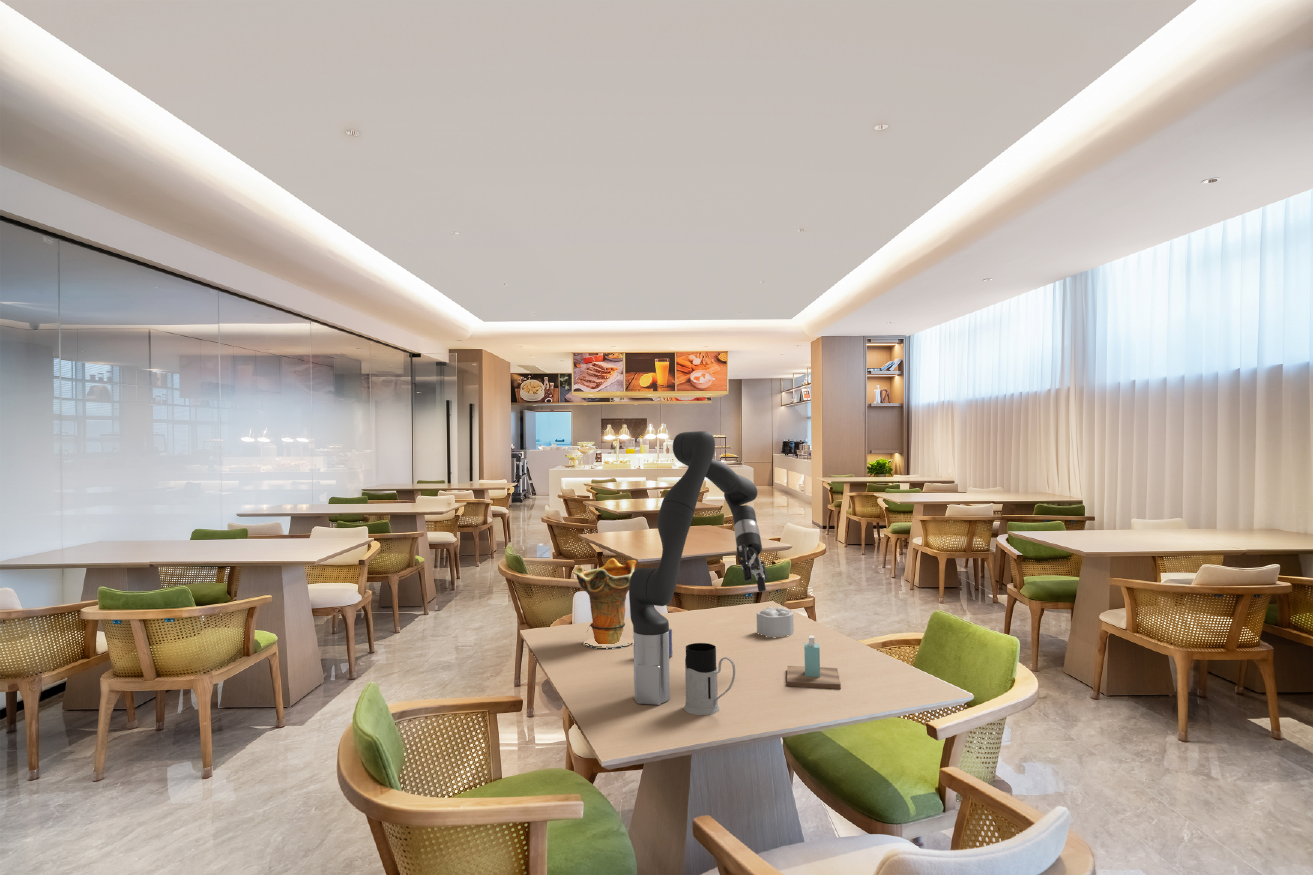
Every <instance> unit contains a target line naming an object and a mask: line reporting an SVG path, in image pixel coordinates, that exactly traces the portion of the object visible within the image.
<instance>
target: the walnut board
mask: <svg viewBox="0 0 1313 875" xmlns="http://www.w3.org/2000/svg"><path fill="white" fill-rule="evenodd" d="M786 671H787V672H786V673H787V674H786V686H787V687H797V688H799V687H801V688H816V689H817V688H818V689H819V688H820V689H832V690H833V689H834V690H835V689H837V690H838V689H839V690H841V687H842V686H841V679H840V676H839V675H840V674H839V670H838V668H837V667H826V666H825V667H824V666H820V677H805V665H804V666H803V665H800V666H799V665H787V670H786Z"/></svg>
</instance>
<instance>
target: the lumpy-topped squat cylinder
mask: <svg viewBox="0 0 1313 875" xmlns="http://www.w3.org/2000/svg"><path fill="white" fill-rule="evenodd" d="M794 618H795V617H794V612H793V611H792V610H790V609H788V608H784V607H782V606H779V607H776V608H774V607H772V606H768V607H766V608H765V609H762V610H760V611H757V612H756V634H757V633H759V634H762V635H765V636H767V637H781V636H787V635H791V636H793V635H794V634H795V633H794V632H795V628H794V627H795V624H794ZM793 633H794V634H793ZM759 634H758V635H759ZM792 634H793V635H792ZM762 635H761V636H762ZM767 637H766V638H767ZM787 637H788V636H787ZM781 638H782V637H781Z"/></svg>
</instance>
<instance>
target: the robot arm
mask: <svg viewBox="0 0 1313 875" xmlns="http://www.w3.org/2000/svg"><path fill="white" fill-rule="evenodd" d="M714 437H715V436H714V435H713V434H712V433H711V432H709V431H706V430H705V431H704V430H703V431H702V430H701V431H699V430H698V431H684V432H679V433H678V434H677V435H675V437H674V439H673V442H672V451H673V456H674V457H675V458H676V460H677V461H678V462H680V463H682V464H683V465H684V466H687V469H686V471H685V473H684V474H683V475H682V477H680V479H678V481H677V482H676V483H674V485H673V486H672V487H671V488H670V489H669V490H668V492H667V493H666V494H665V495H664V496H663V499H662V502H661V505H660V508H659V511H658V515H657V517H656V520H657V521H656V525H657V530H658V534H659V537H660V541H661V546H662V552H661V558H660V562H659V565H658V567H657V568H652V567H651V568H650V567H639V568H635V571H634V572H633V573H632V575H631V578H630V582H629V591H628V597H629V598H628V600H629V614H630V616H629V617H630V621H631V623H632V630H633V633H632V634H633V636H632V637H633V638H632V639H633V640H634V644H633V690H634V691H633V694H634V695H633V697H634V700H635V701H636V704H639V705H641V704H644V705H658V706H659V705H661V704H664V703H667V702H668V701H669V700H670V698H671V688H670V687H671V684H670V682H671V681H670V678H671V677H670V658H669V628H670V624H669V620H668V619H667V617H665V616H663V614H661V613H660V612H659V611H658V610H657V609H656V608H655V606H657V607H665V606H667V605H668V604H669V603H670V602H671V600H672V598H673V596H674V593H675V590H676V587H677V582H678V577H679V572H680V571H679V570H680V566H681V562H682V561H681V560H682V558H683V557H682V556H683V552H684V547H685V544H686V541H687V538H688V537H687V536H688V534H689V531H690V527H691V525H692V521H693V518H694V515H695V514H694V513H695V510H696V506H697V502H698V499H699V497H700V496H699V495H700V493H701V490H702V487H703V483H704V481H705V479H708V480H709V481H710V482H711V483H712V484H714V486H715V487H717V488H718V489H719V490H720V491H721V492H723V493H724V494H723V497H724V500H725V503H727V505H728V507H729V509H730V513H731V514H732V518H733V519H732V521H733V525H734V537H735V544H736V556H737V563H738V565H739V566H740V565H741V566H740V567H741V569H742V571H743V578H744V581H745V582H750V581H753V579H754V578H753V575H754V577H755V580H756V585H757V590H758V592H759V593H763V592H765V591H766V590H767V588H766V583H765V582H766V581H767V580H768V579H769V578H768V574H767V570H766V568H767V567H766V564H765V562H764V560H762V561H761V558H760V553H762V551H763V545H762V540H761V535H760V530H759V525H758V522H757V517H756V516H757V515H756V512H755V509H754V507H752V506H751V505H748V503H750V502H753V501H754V500H756V498H757V496H758V489H757V486H756V485H755V483H754V482H753V481H752V480H751V479H749V478H747V477H745V476H743V475H740V474H737V473H736V472H735V470H733V469H732V468H731V467H730V466H729V465H727V464H726V463H724V462H722V461H720V460H717V459H715V458H714V455H715V450H716V449H715V448H716V441H715V438H714ZM746 504H747V505H746Z"/></svg>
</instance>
